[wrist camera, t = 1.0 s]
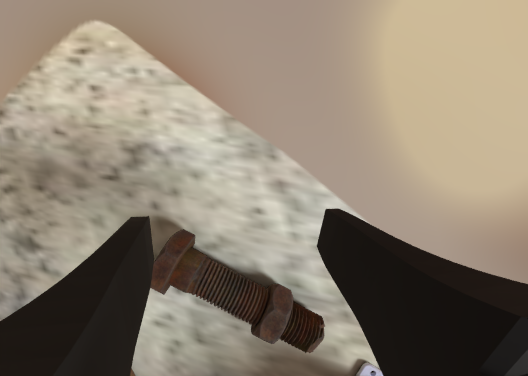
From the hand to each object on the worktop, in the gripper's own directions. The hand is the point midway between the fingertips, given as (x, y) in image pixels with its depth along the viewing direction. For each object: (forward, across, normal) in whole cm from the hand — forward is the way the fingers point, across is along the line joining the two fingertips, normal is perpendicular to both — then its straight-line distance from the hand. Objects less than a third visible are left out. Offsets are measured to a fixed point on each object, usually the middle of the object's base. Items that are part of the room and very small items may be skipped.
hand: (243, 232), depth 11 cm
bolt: (+9, -2, +13) cm, 16 cm away
